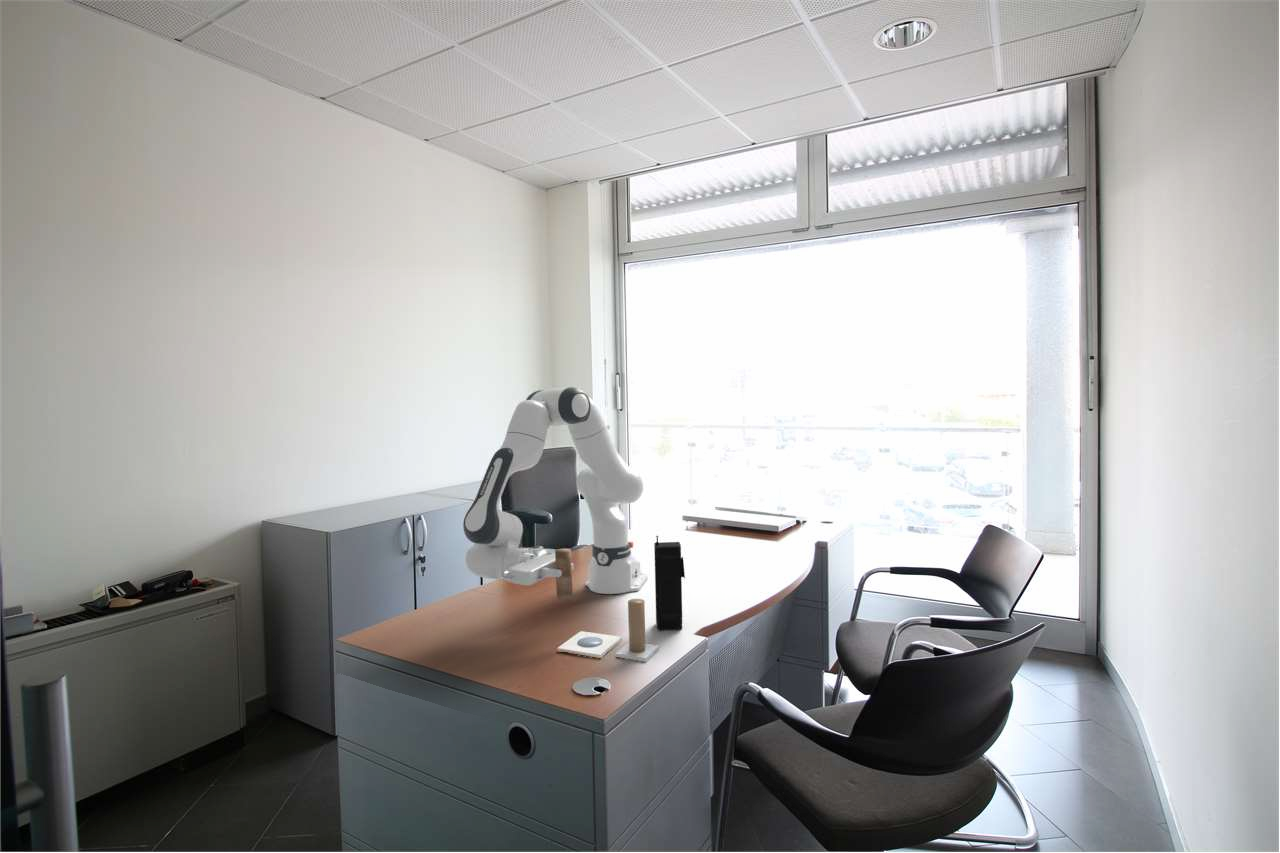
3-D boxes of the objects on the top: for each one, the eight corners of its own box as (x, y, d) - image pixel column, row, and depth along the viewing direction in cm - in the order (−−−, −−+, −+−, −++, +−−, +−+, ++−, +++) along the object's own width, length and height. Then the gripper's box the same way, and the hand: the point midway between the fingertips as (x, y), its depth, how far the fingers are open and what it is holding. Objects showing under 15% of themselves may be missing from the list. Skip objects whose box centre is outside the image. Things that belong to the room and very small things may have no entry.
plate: (580, 634, 179) (580, 630, 179) (622, 640, 174) (621, 636, 174) (557, 651, 168) (557, 647, 168) (600, 658, 163) (600, 654, 163)
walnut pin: (561, 593, 176) (560, 548, 176) (575, 595, 175) (573, 549, 174) (553, 598, 173) (552, 551, 172) (567, 600, 171) (565, 553, 170)
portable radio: (684, 621, 187) (682, 531, 185) (686, 629, 181) (684, 536, 179) (655, 622, 187) (653, 532, 185) (657, 630, 181) (654, 537, 179)
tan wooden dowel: (629, 645, 171) (628, 594, 170) (658, 649, 168) (657, 598, 167) (615, 657, 164) (614, 604, 163) (646, 662, 161) (644, 608, 160)
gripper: (496, 563, 169) (544, 568, 163) (541, 544, 188) (585, 548, 182) (497, 588, 169) (545, 594, 164) (542, 566, 188) (586, 571, 182)
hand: (566, 570), depth 173 cm, fingers closed on walnut pin, 4 cm apart
